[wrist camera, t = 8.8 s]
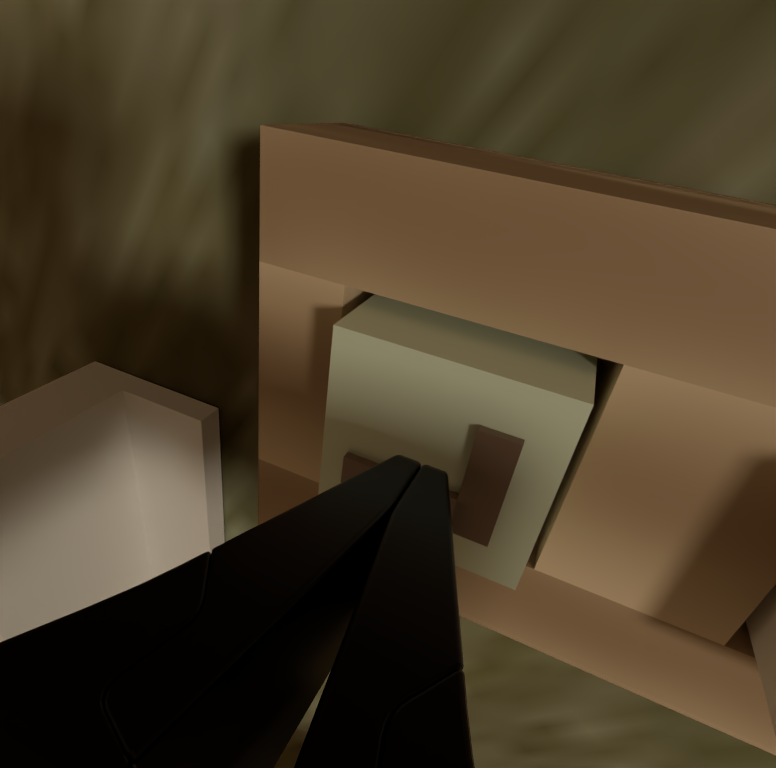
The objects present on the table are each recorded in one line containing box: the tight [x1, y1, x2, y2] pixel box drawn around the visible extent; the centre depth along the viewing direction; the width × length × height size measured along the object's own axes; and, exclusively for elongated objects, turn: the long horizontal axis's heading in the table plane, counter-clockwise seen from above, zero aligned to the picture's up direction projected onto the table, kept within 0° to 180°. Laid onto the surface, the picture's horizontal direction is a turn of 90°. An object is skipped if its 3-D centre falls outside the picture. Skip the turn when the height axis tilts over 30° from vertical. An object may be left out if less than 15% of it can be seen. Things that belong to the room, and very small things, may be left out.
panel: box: [258, 123, 776, 755], centre depth 9 cm, size 9×16×3 cm, turn 81°
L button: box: [318, 294, 597, 590], centre depth 10 cm, size 4×4×3 cm
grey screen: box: [0, 361, 225, 642], centre depth 17 cm, size 14×5×6 cm, turn 171°
